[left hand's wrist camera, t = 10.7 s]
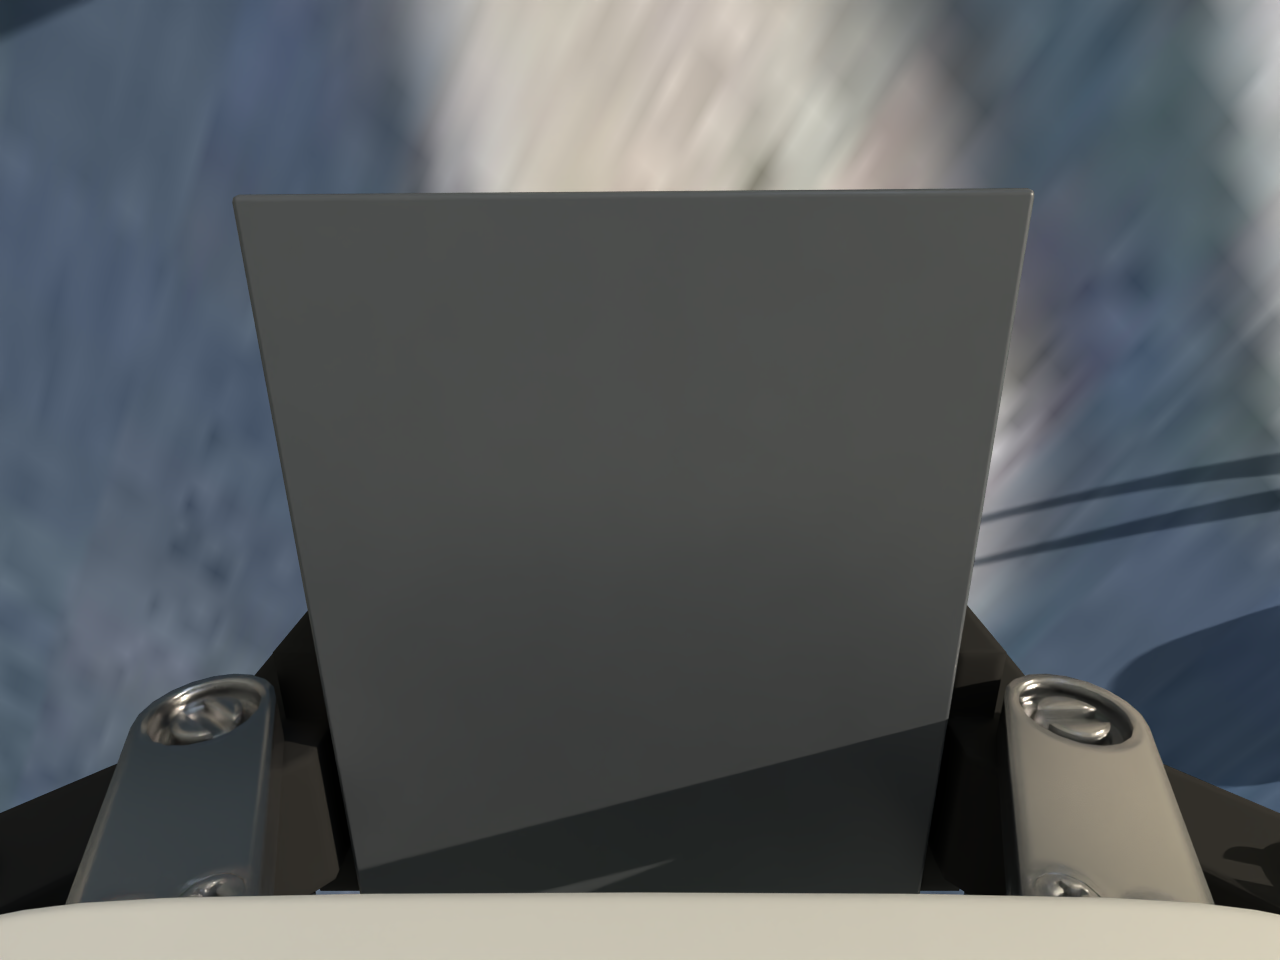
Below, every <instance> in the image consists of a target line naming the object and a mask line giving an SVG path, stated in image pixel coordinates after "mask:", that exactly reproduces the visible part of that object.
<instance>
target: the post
mask: <svg viewBox="0 0 1280 960" xmlns="http://www.w3.org/2000/svg"><path fill="white" fill-rule="evenodd" d="M1033 200H1034V191H1033V190H1030V189H1028V188H994V189H873V190H751V191H630V192H509V193H387V194H266V195H237V196H235V197H234V198H233V202H232V203H233V208H234V214H235V219H236V224H237V230H238V235H239V241H240V246H241V251H242V257H243V262H244V268H245V273H246V278H247V284H248V289H249V295H250V300H251V305H252V311H253V316H254V322H255V327H256V332H257V338H258V343H259V349H260V354H261V359H262V365H263V370H264V376H265V381H266V387H267V392H268V397H269V403H270V408H271V414H272V419H273V424H274V430H275V435H276V441H277V446H278V451H279V457H280V462H281V468H282V473H283V478H284V484H285V489H286V495H287V500H288V505H289V511H290V516H291V522H292V527H293V532H294V538H295V543H296V549H297V554H298V560H299V565H300V570H301V576H302V581H303V587H304V592H305V597H306V603H307V608H308V614H309V619H310V624H311V630H312V635H313V641H314V646H315V651H316V657H317V662H318V668H319V673H320V678H321V684H322V689H323V695H324V700H325V706H326V711H327V716H328V722H329V727H330V733H331V738H332V743H333V749H334V754H335V760H336V765H337V770H338V776H339V781H340V787H341V792H342V797H343V803H344V808H345V814H346V819H347V824H348V830H349V835H350V841H351V846H352V851H353V857H354V862H355V868H356V873H357V879H358V884H359V889H360V894H439V893H841V894H920V888H921V882H922V875H923V869H924V863H925V857H926V851H927V845H928V839H929V833H930V827H931V821H932V815H933V809H934V802H935V796H936V790H937V784H938V778H939V772H940V766H941V760H942V754H943V748H944V742H945V735H946V729H947V723H948V717H949V711H950V705H951V699H952V693H953V687H954V681H955V675H956V669H957V662H958V656H959V650H960V644H961V638H962V632H963V626H964V620H965V614H966V608H967V602H968V596H969V589H970V583H971V577H972V571H973V565H974V559H975V553H976V547H977V541H978V535H979V529H980V523H981V516H982V510H983V504H984V498H985V492H986V486H987V480H988V474H989V468H990V462H991V456H992V450H993V443H994V437H995V431H996V425H997V419H998V413H999V407H1000V401H1001V395H1002V389H1003V383H1004V376H1005V370H1006V364H1007V358H1008V352H1009V346H1010V340H1011V334H1012V328H1013V322H1014V316H1015V310H1016V303H1017V297H1018V291H1019V285H1020V279H1021V273H1022V267H1023V261H1024V255H1025V249H1026V243H1027V237H1028V230H1029V224H1030V218H1031V212H1032V206H1033Z"/></svg>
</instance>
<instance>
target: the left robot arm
mask: <svg viewBox="0 0 1280 960" xmlns="http://www.w3.org/2000/svg"><path fill="white" fill-rule="evenodd" d="M318 889H320V891H360V889H359V884H358V879H357V873H356V868H355V862H354V857H353V851H352V846H351V841H350V835H349V830H348V824H347V819H346V814H345V808H344V803H343V797H342V792H341V787H340V781H339V776H338V770H337V765H336V760H335V754H334V749H333V743H332V738H331V733H330V727H329V722H328V716H327V711H326V706H325V700H324V695H323V689H322V684H321V678H320V673H319V668H318V662H317V657H316V651H315V646H314V641H313V635H312V630H311V624H310V619H309V614H308V611H307V612H306V613H305V615H304V616H303V617H302V618H301V619H300V621H299V622H298V623H297V624H296V625H295V627H294V628H293V629H292V630H291V631H290V633H289V634H288V635H287V636H286V637H285V639H284V640H283V641H282V642H281V643H280V645H279V646H278V647H277V648H276V649H275V651H274V652H273V654H272V655H271V656H270V658H269V659H268V660H267V661H266V662H265V664H264V665H263V666H262V667H261V668H260V670H259V671H258V672H257V673H256V674H255V676H254V675H247V674H229V675H221V676H213V677H210V678H206V679H202V680H198V681H195V682H191V683H189V684H187V685H184V686H182V687H180V688H177V689H175V690H172V691H170V692H169V693H167V694H165V695H164V696H162V697H160V698H159V699H157V700H155V701H154V702H152V703H151V704H150V705H149V706H148V707H147V708H146V709H144V710H143V711H142V712H141V713H140V714H139V715H138V717H137V718H136V720H135V721H134V723H133V725H132V726H131V728H130V731H129V733H128V736H127V739H126V741H125V744H124V747H123V750H122V752H121V755H120V758H119V760H118V763H117V764H115V765H113V766H110V767H108V768H106V769H103V770H101V771H99V772H96V773H94V774H92V775H89V776H87V777H84V778H82V779H80V780H77V781H75V782H73V783H70V784H68V785H66V786H63V787H61V788H59V789H56V790H54V791H51V792H49V793H47V794H44V795H42V796H40V797H37V798H35V799H33V800H30V801H28V802H25V803H23V804H21V805H18V806H16V807H14V808H11V809H9V810H7V811H4V812H2V813H0V960H1280V813H1278V812H1275V811H1273V810H1271V809H1268V808H1266V807H1264V806H1261V805H1259V804H1257V803H1254V802H1252V801H1249V800H1247V799H1245V798H1242V797H1240V796H1238V795H1235V794H1233V793H1231V792H1228V791H1226V790H1223V789H1221V788H1219V787H1216V786H1214V785H1212V784H1209V783H1207V782H1205V781H1202V780H1200V779H1197V778H1195V777H1193V776H1190V775H1188V774H1186V773H1183V772H1181V771H1179V770H1176V769H1174V768H1171V767H1169V766H1167V765H1164V764H1163V763H1162V760H1161V758H1160V755H1159V752H1158V750H1157V747H1156V744H1155V741H1154V739H1153V736H1152V733H1151V731H1150V728H1149V726H1148V725H1147V723H1146V721H1145V720H1144V718H1143V717H1142V715H1141V714H1140V713H1139V712H1138V711H1137V710H1136V709H1134V708H1133V707H1132V706H1131V705H1130V704H1129V703H1128V702H1126V701H1125V700H1123V699H1121V698H1120V697H1118V696H1116V695H1115V694H1113V693H1111V692H1110V691H1108V690H1105V689H1103V688H1100V687H1098V686H1096V685H1093V684H1091V683H1089V682H1085V681H1082V680H1078V679H1074V678H1070V677H1067V676H1059V675H1051V674H1033V675H1026V676H1025V675H1024V674H1023V673H1022V672H1021V670H1020V669H1019V668H1018V667H1017V666H1016V664H1015V663H1014V662H1013V661H1012V660H1011V658H1010V657H1009V656H1008V655H1007V654H1006V651H1005V650H1004V649H1003V648H1002V647H1001V645H1000V644H999V643H998V642H997V641H996V639H995V638H994V637H993V636H992V635H991V633H990V632H989V631H988V630H987V629H986V627H985V626H984V625H983V624H982V623H981V621H980V620H979V619H978V618H977V617H976V615H975V614H974V613H973V612H972V611H971V609H970V608H969V607H968V606H967V608H966V614H965V620H964V626H963V632H962V638H961V644H960V650H959V656H958V662H957V669H956V675H955V681H954V687H953V693H952V699H951V705H950V711H949V717H948V723H947V729H946V735H945V742H944V748H943V754H942V760H941V766H940V772H939V778H938V784H937V790H936V796H935V802H934V809H933V815H932V821H931V827H930V833H929V839H928V845H927V851H926V857H925V863H924V869H923V875H922V882H921V888H920V891H959V889H961V890H963V891H964V895H942V894H841V893H439V894H338V895H316V892H315V891H317V890H318Z"/></svg>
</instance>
